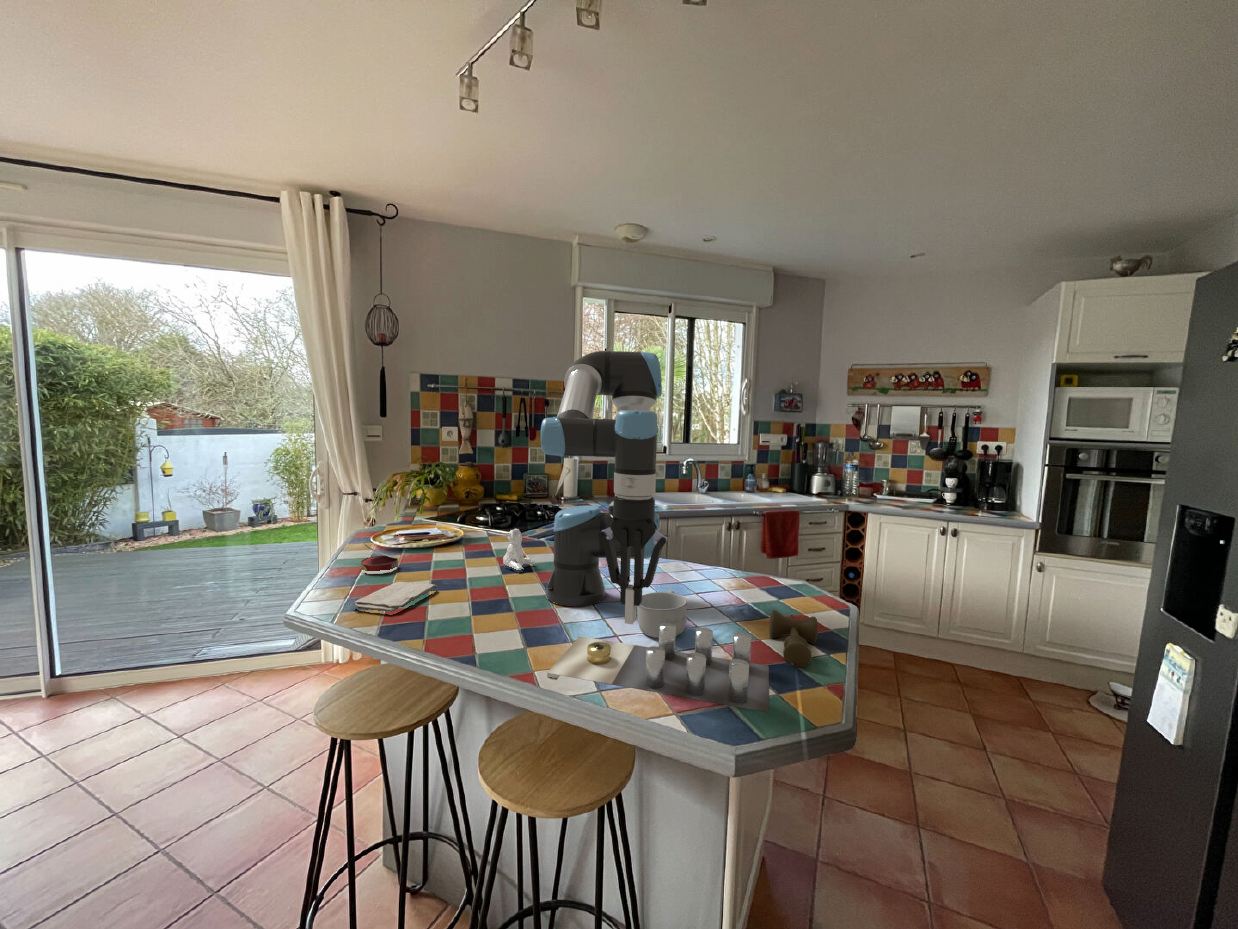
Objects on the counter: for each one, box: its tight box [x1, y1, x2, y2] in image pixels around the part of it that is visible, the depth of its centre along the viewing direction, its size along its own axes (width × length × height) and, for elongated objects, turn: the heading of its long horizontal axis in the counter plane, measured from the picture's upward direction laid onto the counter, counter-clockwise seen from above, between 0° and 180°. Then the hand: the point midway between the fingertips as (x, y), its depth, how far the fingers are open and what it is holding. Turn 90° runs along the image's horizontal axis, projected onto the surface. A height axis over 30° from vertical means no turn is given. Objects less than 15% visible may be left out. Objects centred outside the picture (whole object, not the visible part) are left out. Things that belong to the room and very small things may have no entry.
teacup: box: [636, 589, 688, 640], centre depth 111 cm, size 14×11×8 cm
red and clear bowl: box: [360, 542, 399, 571], centre depth 150 cm, size 11×10×10 cm
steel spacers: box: [645, 623, 752, 704], centre depth 91 cm, size 17×14×6 cm
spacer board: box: [546, 636, 770, 713], centre depth 93 cm, size 38×16×1 cm, turn 74°
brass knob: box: [587, 642, 611, 665], centre depth 96 cm, size 4×4×2 cm
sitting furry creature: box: [502, 528, 536, 570], centre depth 155 cm, size 10×9×12 cm
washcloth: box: [352, 581, 438, 612], centre depth 126 cm, size 12×18×3 cm, turn 169°
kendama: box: [769, 609, 819, 669], centre depth 106 cm, size 6×10×20 cm
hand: (630, 620), depth 95 cm, fingers closed
